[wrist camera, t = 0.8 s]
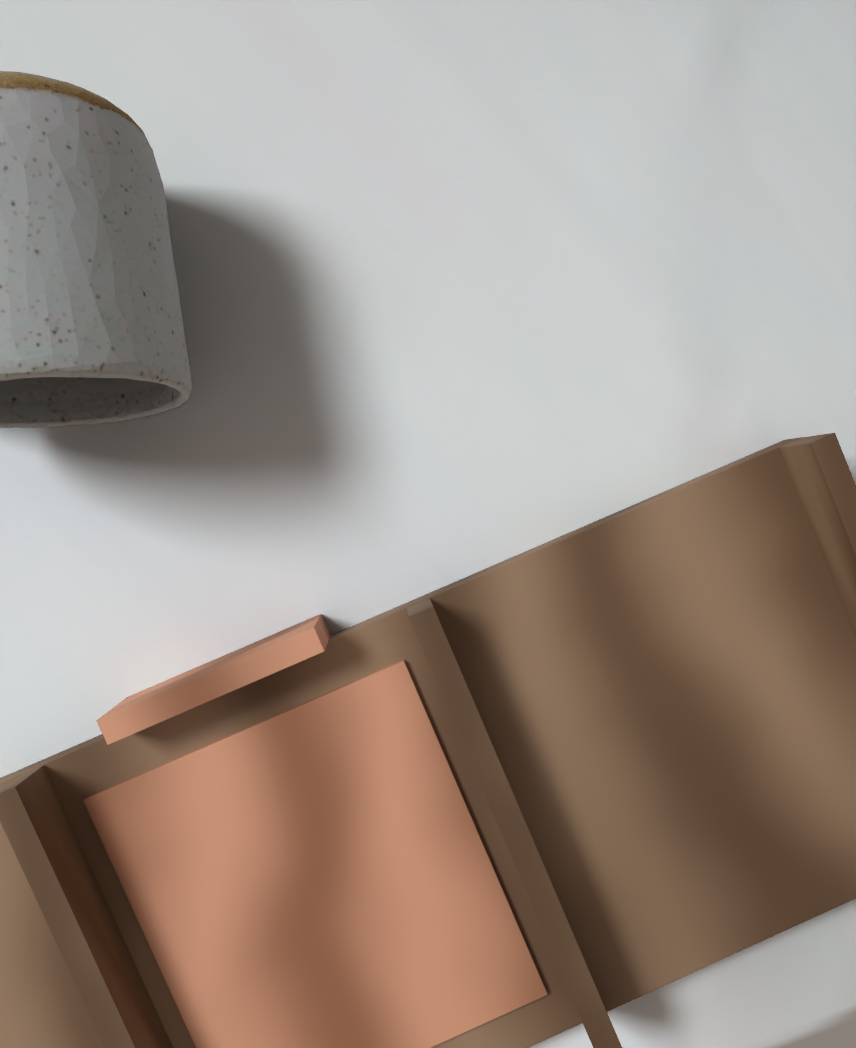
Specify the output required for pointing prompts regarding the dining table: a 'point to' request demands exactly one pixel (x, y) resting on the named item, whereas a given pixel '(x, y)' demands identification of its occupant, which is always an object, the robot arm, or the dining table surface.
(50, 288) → the ceramic mug
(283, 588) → the dining table surface
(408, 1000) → the rack
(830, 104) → the dining table surface
